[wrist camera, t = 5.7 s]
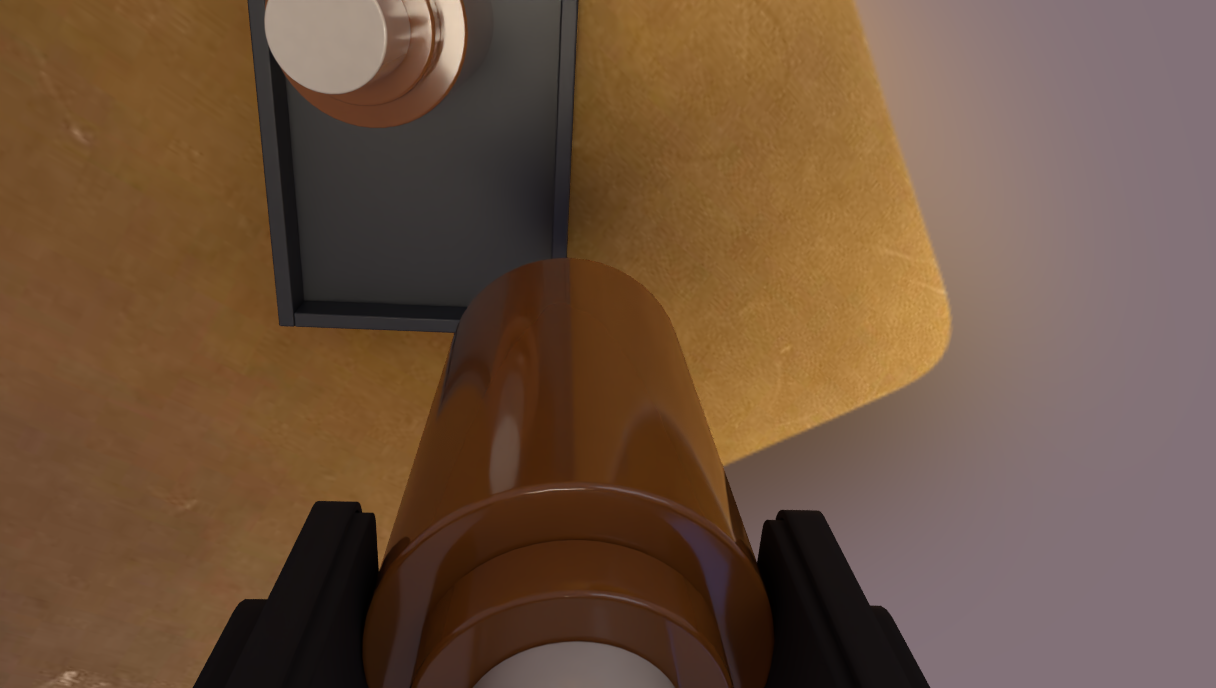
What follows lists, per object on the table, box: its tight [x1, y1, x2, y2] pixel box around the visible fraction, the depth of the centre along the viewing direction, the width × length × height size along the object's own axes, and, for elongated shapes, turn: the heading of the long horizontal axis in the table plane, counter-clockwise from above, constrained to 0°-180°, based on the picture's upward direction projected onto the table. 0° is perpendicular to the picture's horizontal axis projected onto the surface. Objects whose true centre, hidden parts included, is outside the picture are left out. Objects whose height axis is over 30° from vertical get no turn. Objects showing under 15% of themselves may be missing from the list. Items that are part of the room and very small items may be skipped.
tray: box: [248, 0, 578, 333], centre depth 29 cm, size 11×23×2 cm, turn 176°
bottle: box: [264, 0, 494, 128], centre depth 24 cm, size 5×5×13 cm
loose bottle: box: [362, 258, 775, 688], centre depth 13 cm, size 5×5×13 cm
